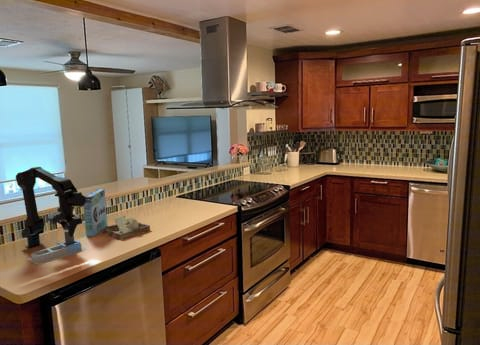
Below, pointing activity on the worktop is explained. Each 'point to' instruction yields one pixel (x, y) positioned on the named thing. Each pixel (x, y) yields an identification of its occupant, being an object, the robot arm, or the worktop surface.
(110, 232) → the cheese crate
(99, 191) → the gum box
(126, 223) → the pale green lump
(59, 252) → the narrow cubby shelf
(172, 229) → the worktop surface
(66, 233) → the dark grey cylinder
